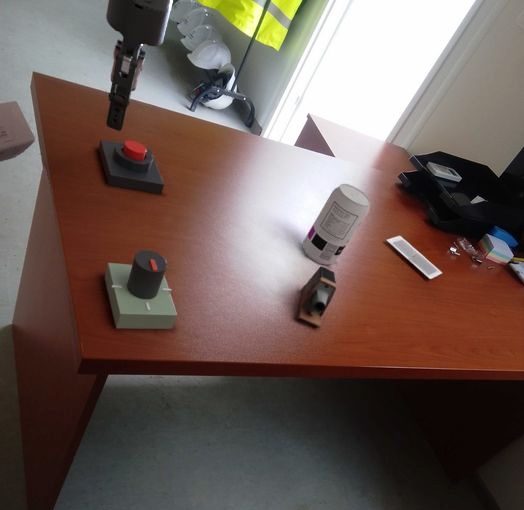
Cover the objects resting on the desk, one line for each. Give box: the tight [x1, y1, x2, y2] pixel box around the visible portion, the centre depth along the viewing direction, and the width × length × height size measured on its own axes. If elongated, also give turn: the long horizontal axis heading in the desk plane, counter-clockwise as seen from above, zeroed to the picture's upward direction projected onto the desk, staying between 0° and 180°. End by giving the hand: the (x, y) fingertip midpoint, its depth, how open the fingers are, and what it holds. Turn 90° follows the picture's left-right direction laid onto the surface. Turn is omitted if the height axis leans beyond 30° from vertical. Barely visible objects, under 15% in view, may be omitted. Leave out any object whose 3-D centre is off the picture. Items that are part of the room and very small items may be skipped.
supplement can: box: [302, 183, 372, 266], centre depth 94 cm, size 8×8×15 cm
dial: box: [127, 249, 168, 299], centre depth 63 cm, size 4×4×6 cm
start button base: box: [98, 138, 165, 195], centre depth 88 cm, size 12×10×4 cm
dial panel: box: [104, 262, 178, 330], centre depth 66 cm, size 10×9×3 cm
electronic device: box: [296, 265, 337, 329], centre depth 81 cm, size 4×10×8 cm, turn 174°
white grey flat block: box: [386, 235, 443, 280], centre depth 116 cm, size 8×15×2 cm, turn 46°
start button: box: [123, 139, 147, 160], centre depth 86 cm, size 4×4×2 cm
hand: (117, 116), depth 69 cm, fingers open, 8 cm apart
